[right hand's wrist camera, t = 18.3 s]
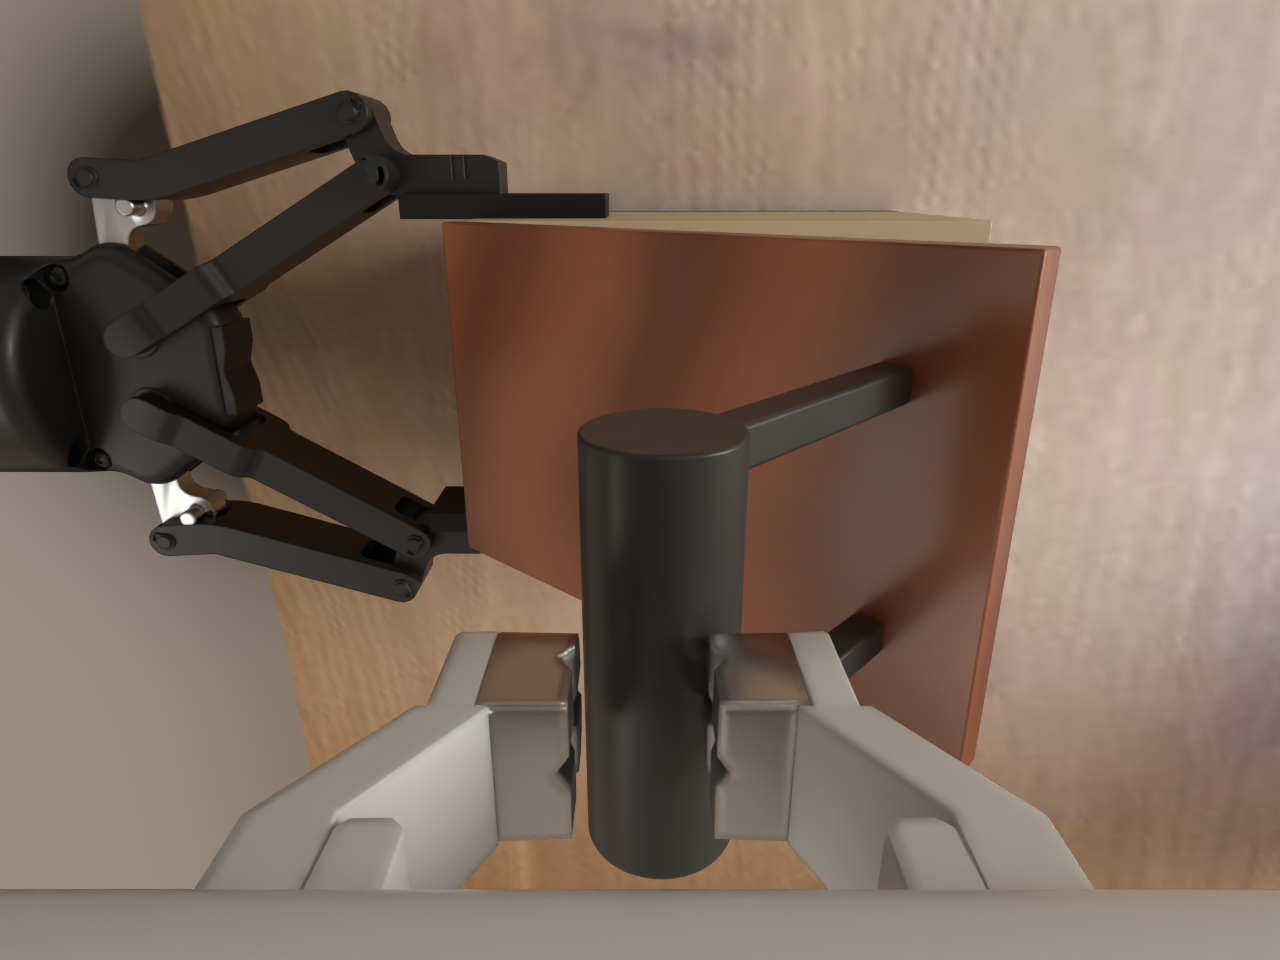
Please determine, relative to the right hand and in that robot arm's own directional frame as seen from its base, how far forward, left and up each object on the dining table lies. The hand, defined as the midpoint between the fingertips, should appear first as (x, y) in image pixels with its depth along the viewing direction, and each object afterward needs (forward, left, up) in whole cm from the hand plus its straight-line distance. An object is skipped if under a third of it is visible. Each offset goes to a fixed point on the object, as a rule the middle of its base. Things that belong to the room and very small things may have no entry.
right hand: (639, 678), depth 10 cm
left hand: (0, +1, -19) cm, 19 cm away
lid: (0, -1, -10) cm, 10 cm away
